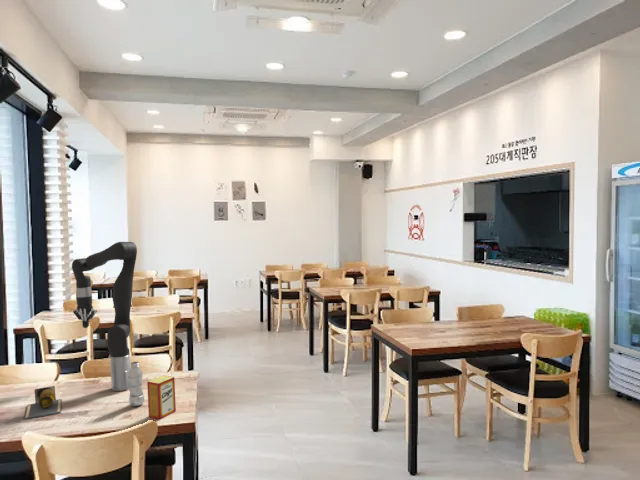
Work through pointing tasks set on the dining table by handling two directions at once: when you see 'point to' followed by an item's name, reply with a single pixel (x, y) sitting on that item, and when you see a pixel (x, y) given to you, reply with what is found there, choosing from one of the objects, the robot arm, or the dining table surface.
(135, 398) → the plastic bottle
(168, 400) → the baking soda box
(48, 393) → the condiment
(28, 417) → the mat
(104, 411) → the dining table surface
